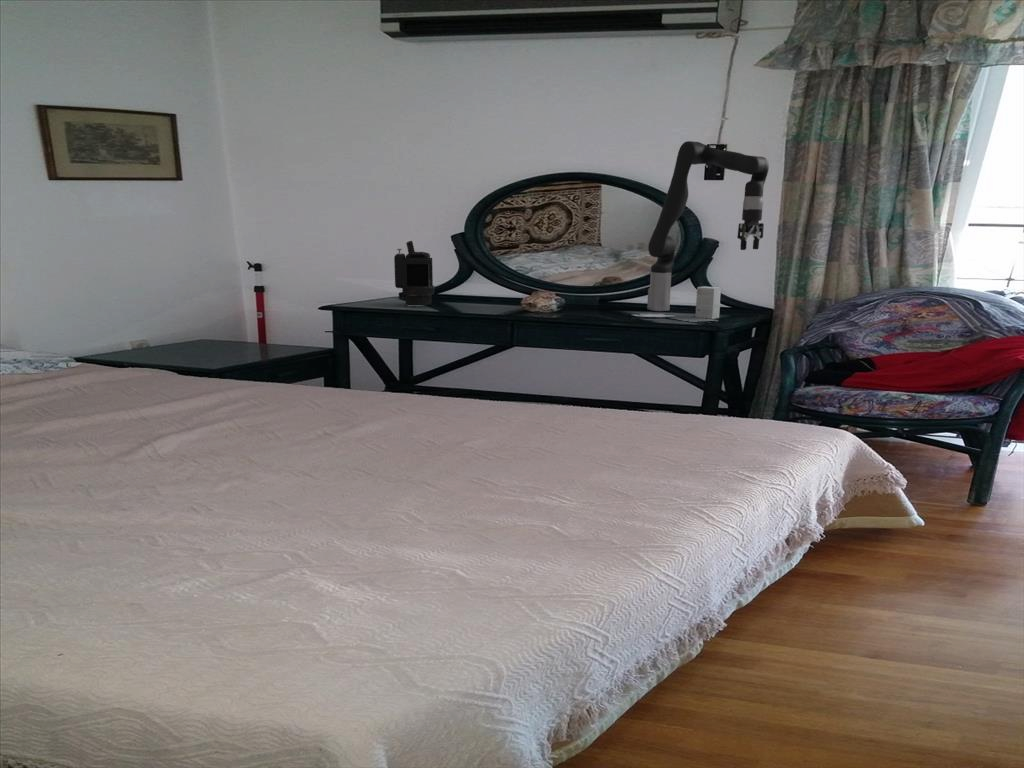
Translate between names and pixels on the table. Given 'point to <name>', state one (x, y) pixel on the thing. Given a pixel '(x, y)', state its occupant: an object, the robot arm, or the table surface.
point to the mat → (693, 319)
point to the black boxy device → (414, 276)
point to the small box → (708, 302)
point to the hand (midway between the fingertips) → (749, 249)
